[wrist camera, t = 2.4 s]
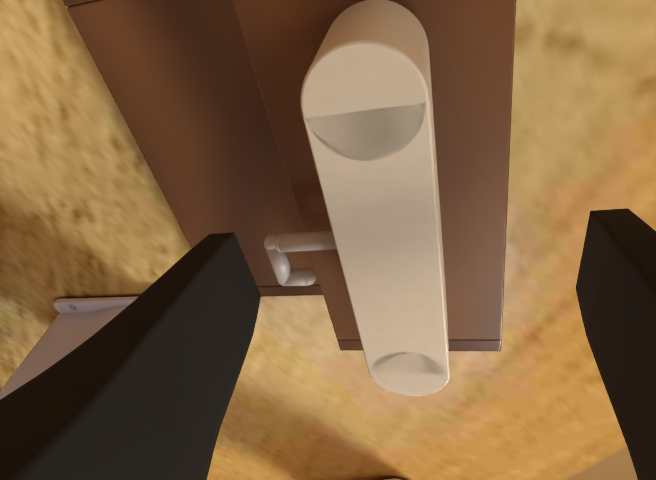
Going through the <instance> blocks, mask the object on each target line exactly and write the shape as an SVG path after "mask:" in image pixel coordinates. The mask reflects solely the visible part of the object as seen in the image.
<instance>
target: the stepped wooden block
mask: <svg viewBox="0 0 656 480" xmlns="http://www.w3.org/2000/svg"><path fill="white" fill-rule="evenodd" d="M361 1H365V0H63V2H64V4H65V5H66V6H68V8H67V9H68V11H69V13H70V15H71V17H72V19H73V21H74V23H75V25H76V27H77V29H78V31H79V33H80V34H81V36H82V38H83V40H84V42H85V44H86V46H87V48H88V50H89V52H90V54H91V56H92V58H93V59H94V61H95V63H96V65H97V67H98V69H99V71H100V73H101V75H102V77H103V79H104V81H105V83H106V84H107V86H108V88H109V90H110V92H111V94H112V96H113V98H114V100H115V102H116V104H117V106H118V108H119V109H120V111H121V113H122V115H123V117H124V119H125V121H126V123H127V125H128V127H129V129H130V131H131V133H132V134H133V136H134V138H135V140H136V142H137V144H138V146H139V148H140V150H141V152H142V154H143V156H144V158H145V159H146V161H147V163H148V165H149V167H150V169H151V171H152V173H153V175H154V177H155V179H156V181H157V183H158V184H159V186H160V188H161V190H162V192H163V194H164V196H165V198H166V200H167V202H168V204H169V206H170V208H171V209H172V211H173V213H174V215H175V217H176V219H177V221H178V223H179V225H180V227H181V229H182V231H183V233H184V234H185V236H186V238H187V240H188V242H189V244H190V246H191V248H193V247H194V246H196V245H197V244H198V243H199V242H200V241H201V240H203V239H204V238H205V237H206V236H208V235H209V234H215V233H232V232H234V233H235V235H236V238H237V240H238V242H239V245H240V247H241V249H242V252H243V254H244V256H245V259H246V261H247V263H248V266H249V268H250V271H251V273H252V275H253V278H254V280H255V282H256V285H257V287H258V289H259V292H260V294H261V297H262V296H301V295H324V298H325V302H326V305H327V308H328V311H329V314H330V318H331V321H332V324H333V327H334V331H335V334H336V337H337V340H338V343H339V347H340V350H363V347H362V343H361V339H360V335H359V331H358V328H357V324H356V320H355V316H354V312H353V308H352V305H351V301H350V297H349V293H348V289H347V285H346V281H345V278H344V274H343V270H342V266H341V262H340V258H339V254H338V251H337V249H333V250H313V251H294V252H286V254H287V257H288V260H289V263H290V265H291V268H292V269H302V268H309V269H312V270H313V271H314V272H315V274H316V280H315V282H314V283H313V284H311V285H308V286H282V285H281V284H279V282H278V280H277V278H276V275H275V272H274V270H273V267H272V265H271V262H270V260H269V257H268V254H267V252H266V249H265V247H264V240H265V238H266V237H267V236H269V235H272V234H274V235H278V234H288V233H304V232H320V231H332V227H331V224H330V220H329V216H328V212H327V208H326V204H325V200H324V197H323V193H322V189H321V185H320V181H319V177H318V173H317V170H316V166H315V162H314V158H313V154H312V150H311V146H310V143H309V139H308V135H307V131H306V127H305V123H304V119H303V115H302V110H301V100H300V98H301V89H302V84H303V81H304V78H305V76H306V74H307V72H308V70H309V68H310V66H311V64H312V62H313V60H314V58H315V56H316V54H317V52H318V50H319V48H320V46H321V44H322V42H323V40H324V38H325V36H326V34H327V32H328V30H329V28H330V27H331V25H332V23H333V22H334V20H335V19H336V18H337V17H338V16H339V15H340V14H341V13H342V12H343V11H344V10H346V9H347V8H349V7H350V6H352V5H354V4H356V3H358V2H361ZM389 1H392V2H395V3H398V4H400V5H402V6H403V7H405V8H406V9H408V10H409V11H410V12H411V13H412V14H414V15H415V17H416V18H417V19H418V20H419V22H420V23H421V25H422V27H423V29H424V31H425V33H426V36H427V40H428V46H429V58H430V72H431V87H432V101H433V115H434V130H435V144H436V159H437V173H438V187H439V202H440V216H441V230H442V245H443V259H444V273H445V288H446V302H447V323H448V346H449V351H501V341H502V340H501V338H502V318H503V295H504V272H505V248H506V225H507V202H508V178H509V155H510V132H511V109H512V85H513V62H514V39H515V15H516V0H389Z"/></svg>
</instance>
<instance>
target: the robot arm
mask: <svg viewBox="0 0 656 480" xmlns="http://www.w3.org/2000/svg"><path fill="white" fill-rule="evenodd" d="M576 291H577V296H578V301H579V305H580V310H581V315H582V319H583V323H584V327H585V332H586V336H587V338H588V341H589V344H590V347H591V350H592V352H593V355H594V358H595V361H596V363H597V366H598V369H599V371H600V374H601V377H602V380H603V382H604V385H605V388H606V390H607V393H608V396H609V398H610V401H611V404H612V406H613V409H614V412H615V414H616V417H617V420H618V422H619V425H620V428H621V430H622V433H623V436H624V438H625V441H626V444H627V446H628V449H629V452H630V456H631V459H632V462H633V465H634V468H635V471H636V475H637V478H638V480H656V231H655V230H653V229H652V228H651V227H650V226H649V225H647V224H646V223H645V222H644V221H643V220H641V219H640V218H639V217H638V216H636V215H635V214H634V213H633V212H631V211H630V210H629V209H613V210H597V211H590V216H589V221H588V227H587V232H586V237H585V242H584V248H583V253H582V258H581V263H580V269H579V274H578V279H577V285H576ZM260 298H261V294H260V292H259V289H258V287H257V285H256V282H255V280H254V278H253V275H252V273H251V271H250V268H249V266H248V263H247V261H246V259H245V256H244V254H243V252H242V249H241V247H240V245H239V242H238V240H237V238H236V235H235V233H234V232H232V233H215V234H209V235H208V236H206V237H205V238H204V239H203V240H201V241H200V242H199V243H198V244H197V245H196V246H194V247H193V248H192V249H191V250H190V251H189V252H188V253H187V254H185V255H184V256H183V257H182V258H181V259H180V260H179V261H178V262H177V263H175V264H174V265H173V266H172V267H171V268H170V269H169V270H168V271H167V272H166V273H165V274H163V275H162V276H161V277H160V278H159V279H158V280H157V281H156V282H155V283H153V284H152V285H151V286H150V287H149V288H148V289H147V290H146V291H145V292H143V293H142V294H141V295H140V296H139V297H104V298H68V299H57V300H56V301H55V302H54V303H53V306H54V308H55V309H56V310H57V311H58V312H59V315H58V316H57V318H56V319H55V320H54V322H53V323H52V324H51V325H50V327H49V328H48V329H47V331H46V332H45V333H44V335H43V336H42V337H41V338H40V340H39V341H38V342H37V344H36V345H35V346H34V348H33V349H32V350H31V351H30V353H29V354H28V355H27V357H26V358H25V359H24V361H23V362H22V363H21V364H20V366H19V367H18V368H17V370H16V371H15V372H14V373H13V375H12V376H11V377H10V379H9V380H8V381H7V383H6V384H5V386H4V387H3V389H2V390H1V392H0V480H207V476H208V472H209V468H210V463H211V459H212V455H213V451H214V447H215V443H216V440H217V437H218V434H219V431H220V427H221V424H222V421H223V419H224V416H225V413H226V410H227V407H228V405H229V402H230V399H231V396H232V393H233V391H234V388H235V385H236V382H237V379H238V377H239V374H240V371H241V368H242V365H243V362H244V360H245V357H246V354H247V351H248V348H249V345H250V342H251V339H252V336H253V332H254V328H255V323H256V319H257V314H258V308H259V303H260Z"/></svg>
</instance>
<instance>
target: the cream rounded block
mask: <svg viewBox="0 0 656 480" xmlns="http://www.w3.org/2000/svg"><path fill="white" fill-rule="evenodd" d="M300 100H301V110H302V115H303V119H304V123H305V127H306V131H307V135H308V139H309V143H310V146H311V150H312V154H313V158H314V162H315V166H316V170H317V173H318V177H319V181H320V185H321V189H322V193H323V197H324V200H325V204H326V208H327V212H328V216H329V220H330V224H331V227H332V231H320V232H304V233H288V234H278V235H274V234H272V235H269V236H267V237H266V238H265V240H264V247H265V249H266V252H267V254H268V257H269V260H270V262H271V265H272V267H273V270H274V272H275V275H276V278H277V280H278V282H279V284H281V285H282V286H308V285H311V284H313V283H314V282H315V280H316V274H315V272H314V271H313V270H312V269H309V268H302V269H292V268H291V265H290V263H289V260H288V257H287V254H286V252H294V251H313V250H333V249H337V251H338V254H339V258H340V262H341V266H342V270H343V274H344V278H345V281H346V285H347V289H348V293H349V297H350V301H351V305H352V308H353V312H354V316H355V320H356V324H357V328H358V331H359V335H360V339H361V343H362V347H363V351H364V355H365V358H366V362H367V366H368V370H369V373H370V376H371V378H372V380H373V381H374V382H375V383H376V384H377V385H379V386H380V387H381V388H383V389H385V390H387V391H390V392H392V393H396V394H400V395H406V396H423V395H428V394H432V393H435V392H437V391H439V390H441V389H442V388H443V387H444V386H445V385H446V384H447V382H448V380H449V377H450V369H449V346H448V323H447V302H446V288H445V273H444V259H443V245H442V230H441V216H440V202H439V187H438V173H437V159H436V144H435V130H434V115H433V101H432V87H431V72H430V58H429V46H428V40H427V36H426V33H425V31H424V29H423V27H422V25H421V23H420V22H419V20H418V19H417V18H416V17H415V15H414V14H412V13H411V12H410V11H409V10H408V9H406V8H405V7H403V6H402V5H400V4H398V3H395V2H392V1H389V0H365V1H361V2H358V3H356V4H354V5H352V6H350V7H349V8H347V9H346V10H344V11H343V12H342V13H341V14H340V15H339V16H338V17H337V18H336V19H335V20H334V22H333V23H332V25H331V27H330V28H329V30H328V32H327V34H326V36H325V38H324V40H323V42H322V44H321V46H320V48H319V50H318V52H317V54H316V56H315V58H314V60H313V62H312V64H311V66H310V68H309V70H308V72H307V74H306V76H305V78H304V81H303V84H302V89H301V98H300Z"/></svg>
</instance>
